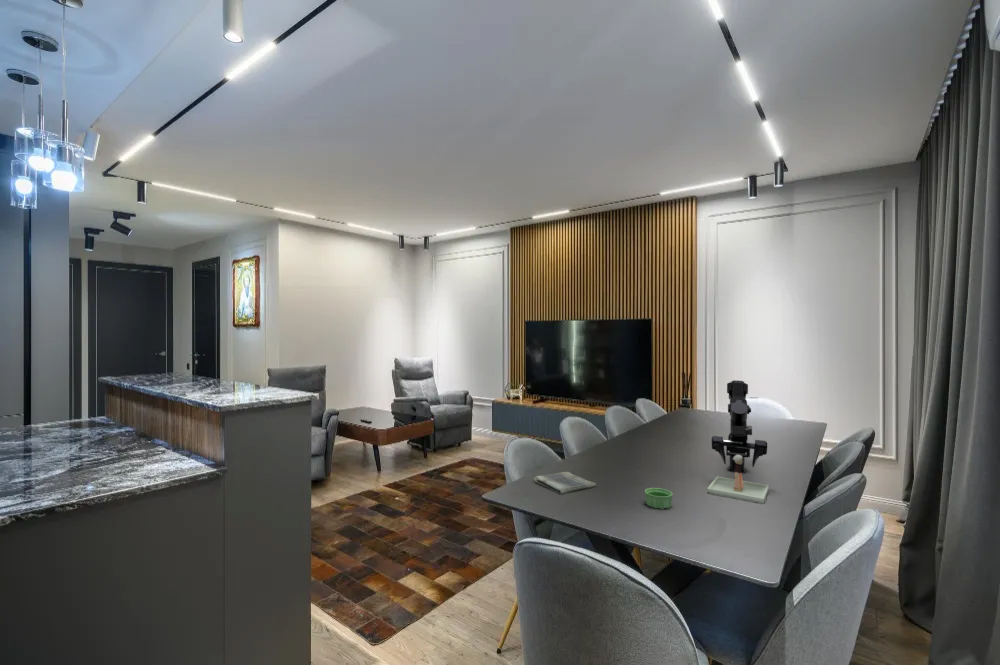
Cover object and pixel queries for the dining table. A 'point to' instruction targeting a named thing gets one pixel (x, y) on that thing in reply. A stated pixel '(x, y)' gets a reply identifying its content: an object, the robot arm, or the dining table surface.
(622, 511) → the dining table surface
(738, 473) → the grandmother figurine
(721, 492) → the sage tray
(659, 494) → the ramekin
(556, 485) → the dish towel
